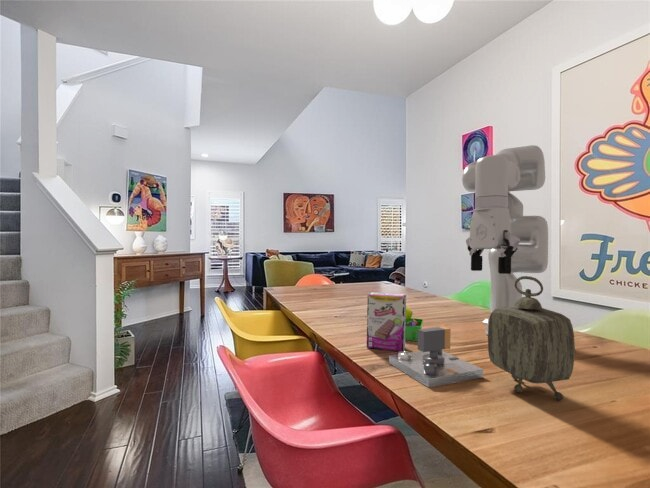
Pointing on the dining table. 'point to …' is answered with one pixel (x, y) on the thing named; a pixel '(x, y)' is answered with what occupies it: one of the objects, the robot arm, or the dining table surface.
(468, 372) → the levelling base
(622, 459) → the dining table surface
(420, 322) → the fruit basket
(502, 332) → the tabletop clock
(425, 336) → the knob
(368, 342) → the candy bar box
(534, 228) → the robot arm
